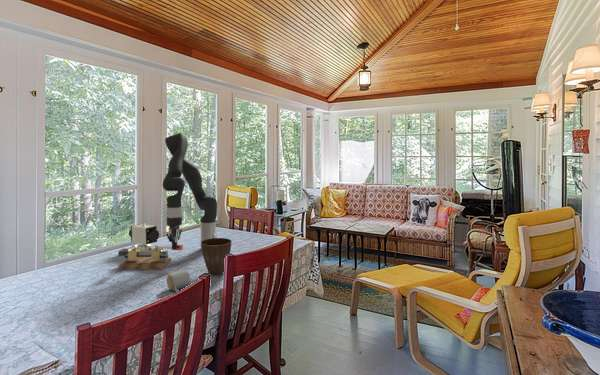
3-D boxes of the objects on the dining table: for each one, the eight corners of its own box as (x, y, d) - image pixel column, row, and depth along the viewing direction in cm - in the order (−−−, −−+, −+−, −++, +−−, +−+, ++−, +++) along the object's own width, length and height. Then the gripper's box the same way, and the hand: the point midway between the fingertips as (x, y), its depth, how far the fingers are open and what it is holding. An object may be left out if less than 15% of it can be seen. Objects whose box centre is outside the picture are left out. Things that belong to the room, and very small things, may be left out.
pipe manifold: (168, 260, 183) (168, 247, 182) (165, 262, 178) (164, 249, 177) (127, 260, 182) (126, 247, 182) (122, 262, 177) (122, 249, 177)
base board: (171, 261, 188) (171, 257, 187) (162, 269, 174) (161, 265, 174) (131, 261, 187) (131, 257, 187) (118, 269, 173) (118, 265, 173)
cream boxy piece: (161, 252, 205) (161, 223, 203) (150, 255, 197) (149, 225, 196) (141, 248, 213) (140, 220, 211) (129, 251, 205) (127, 223, 203)
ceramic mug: (165, 288, 149) (165, 271, 148) (183, 283, 154) (183, 267, 153) (175, 296, 141) (175, 278, 140) (194, 291, 146) (193, 274, 146)
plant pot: (236, 269, 175) (236, 238, 174) (223, 279, 161) (223, 246, 159) (210, 266, 178) (209, 237, 177) (195, 276, 164) (194, 244, 163)
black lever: (137, 247, 181) (137, 243, 180) (123, 256, 166) (123, 251, 165) (133, 247, 181) (132, 243, 180) (118, 256, 165) (118, 251, 165)
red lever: (156, 247, 181) (156, 243, 181) (183, 249, 179) (182, 244, 179) (153, 249, 179) (153, 244, 179) (180, 250, 177) (180, 245, 176)
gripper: (173, 214, 181) (173, 246, 182) (160, 217, 168) (161, 252, 169) (186, 214, 180) (186, 246, 182) (175, 218, 167) (175, 252, 168)
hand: (174, 249), depth 175 cm, fingers closed
